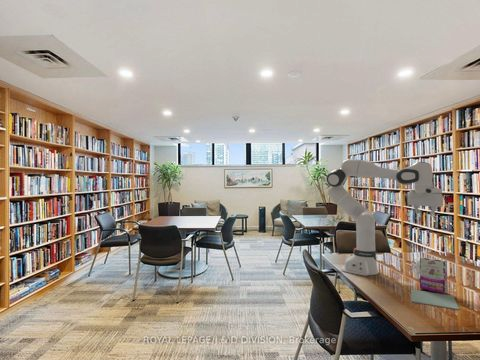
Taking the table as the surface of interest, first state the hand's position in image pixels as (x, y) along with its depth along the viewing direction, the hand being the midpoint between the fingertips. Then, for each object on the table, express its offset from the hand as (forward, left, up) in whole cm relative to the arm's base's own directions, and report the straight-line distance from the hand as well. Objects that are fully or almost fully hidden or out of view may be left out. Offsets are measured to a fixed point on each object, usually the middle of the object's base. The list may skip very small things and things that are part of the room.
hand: (424, 214), depth 158 cm
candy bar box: (+2, -14, -39) cm, 41 cm away
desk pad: (+1, -26, -39) cm, 47 cm away
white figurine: (-3, +5, -39) cm, 40 cm away
